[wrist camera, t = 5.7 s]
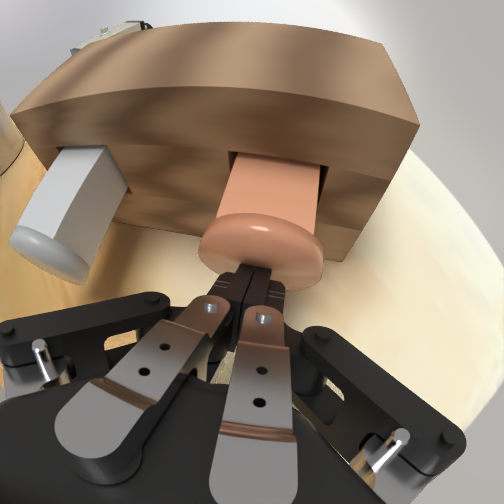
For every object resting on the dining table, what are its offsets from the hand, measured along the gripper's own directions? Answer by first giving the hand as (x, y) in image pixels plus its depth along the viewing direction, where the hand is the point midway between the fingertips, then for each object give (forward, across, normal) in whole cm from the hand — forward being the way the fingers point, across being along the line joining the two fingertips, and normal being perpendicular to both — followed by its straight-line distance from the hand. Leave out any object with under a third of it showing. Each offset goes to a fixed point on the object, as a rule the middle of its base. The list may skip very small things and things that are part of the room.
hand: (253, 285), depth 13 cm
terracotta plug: (+6, 0, -3) cm, 6 cm away
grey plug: (+4, +12, -1) cm, 13 cm away
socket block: (+12, +6, -3) cm, 13 cm away
